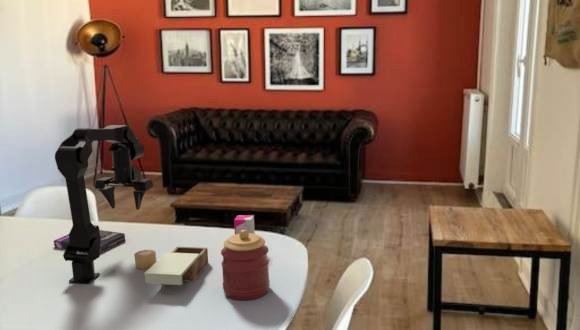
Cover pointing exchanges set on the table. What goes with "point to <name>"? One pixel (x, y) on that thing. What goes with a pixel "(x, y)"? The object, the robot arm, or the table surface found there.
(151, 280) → the lid
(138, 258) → the dome push button
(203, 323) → the table surface
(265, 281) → the canister
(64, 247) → the box
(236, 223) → the supplement box
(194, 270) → the walnut box
